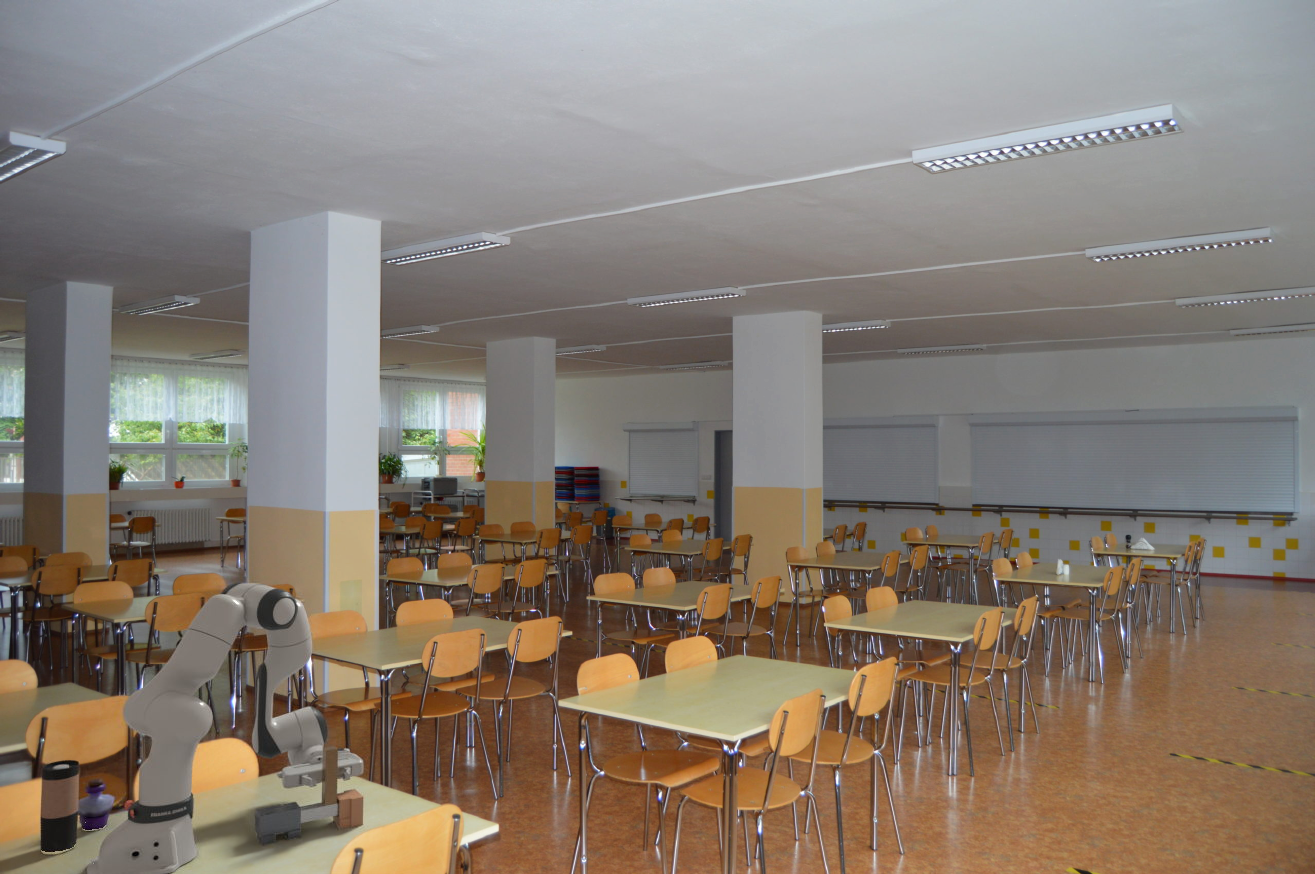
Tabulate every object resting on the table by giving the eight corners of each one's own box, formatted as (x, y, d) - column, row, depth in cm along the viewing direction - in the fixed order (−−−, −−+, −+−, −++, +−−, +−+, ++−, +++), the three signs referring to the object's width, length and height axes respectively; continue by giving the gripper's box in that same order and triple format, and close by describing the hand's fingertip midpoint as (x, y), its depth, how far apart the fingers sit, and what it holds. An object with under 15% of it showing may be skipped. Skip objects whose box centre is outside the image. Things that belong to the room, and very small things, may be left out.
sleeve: (259, 846, 223) (260, 816, 223) (254, 837, 228) (254, 808, 228) (300, 837, 229) (301, 808, 229) (294, 829, 233) (295, 801, 234)
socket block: (340, 829, 234) (341, 801, 234) (332, 820, 239) (333, 792, 240) (362, 824, 237) (363, 796, 237) (354, 815, 243) (355, 788, 243)
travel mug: (31, 852, 218) (33, 768, 218) (60, 840, 225) (63, 758, 226) (56, 857, 216) (58, 771, 216) (85, 844, 223) (87, 761, 224)
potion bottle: (113, 818, 239) (114, 772, 239) (114, 829, 232) (116, 781, 232) (74, 825, 235) (75, 777, 235) (74, 837, 227) (75, 788, 228)
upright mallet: (288, 825, 228) (289, 756, 229) (285, 821, 231) (286, 753, 231) (347, 813, 237) (348, 746, 237) (343, 809, 239) (345, 743, 240)
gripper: (275, 760, 240) (288, 775, 229) (354, 747, 252) (370, 760, 241) (274, 784, 240) (287, 800, 229) (353, 770, 252) (369, 785, 241)
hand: (330, 780), depth 235 cm, fingers open, 7 cm apart
